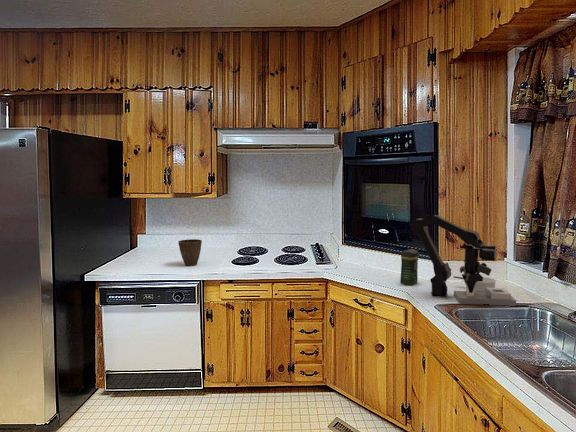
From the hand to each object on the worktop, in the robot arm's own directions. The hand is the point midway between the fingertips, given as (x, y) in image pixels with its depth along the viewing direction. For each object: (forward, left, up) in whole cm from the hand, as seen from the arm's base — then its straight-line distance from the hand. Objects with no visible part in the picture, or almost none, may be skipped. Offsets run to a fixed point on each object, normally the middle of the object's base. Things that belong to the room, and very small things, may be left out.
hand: (470, 291), depth 196 cm
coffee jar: (-25, +26, -4) cm, 36 cm away
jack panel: (+6, 0, -4) cm, 7 cm away
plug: (0, 0, -4) cm, 4 cm away
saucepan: (+6, +20, -4) cm, 22 cm away
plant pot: (-161, +51, -4) cm, 169 cm away
